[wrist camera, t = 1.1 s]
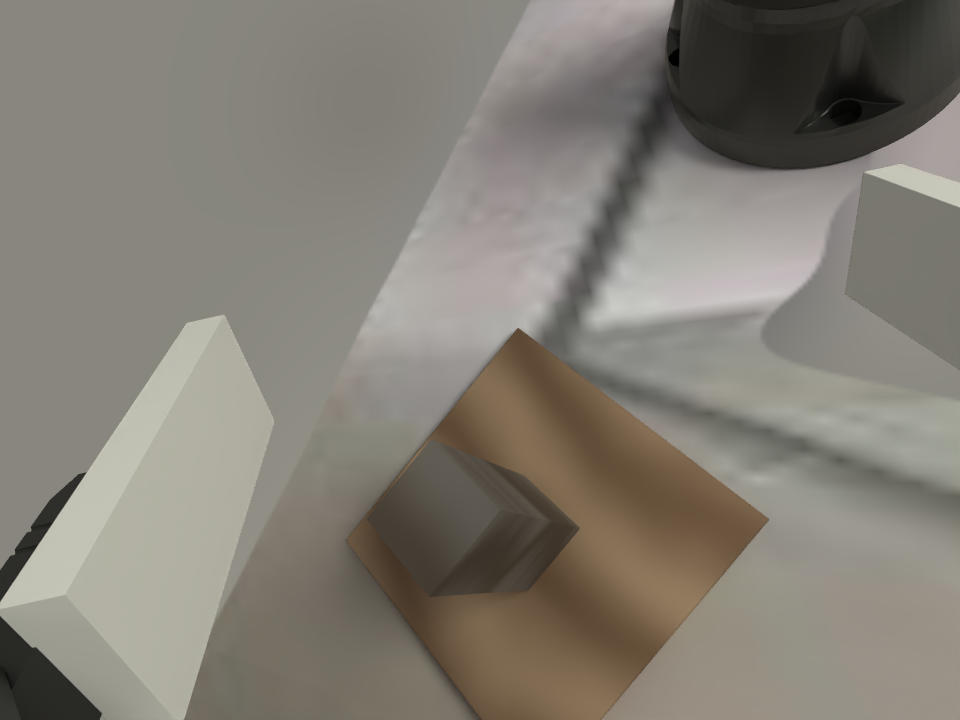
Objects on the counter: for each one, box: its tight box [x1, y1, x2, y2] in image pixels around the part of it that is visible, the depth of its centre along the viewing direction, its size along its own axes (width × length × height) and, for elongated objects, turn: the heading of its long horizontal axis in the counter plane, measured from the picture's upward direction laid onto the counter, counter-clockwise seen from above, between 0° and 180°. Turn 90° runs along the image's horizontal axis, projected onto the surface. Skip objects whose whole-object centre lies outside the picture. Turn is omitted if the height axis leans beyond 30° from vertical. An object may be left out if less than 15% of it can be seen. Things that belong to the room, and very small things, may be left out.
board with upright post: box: [346, 328, 769, 720], centre depth 27 cm, size 16×16×11 cm
